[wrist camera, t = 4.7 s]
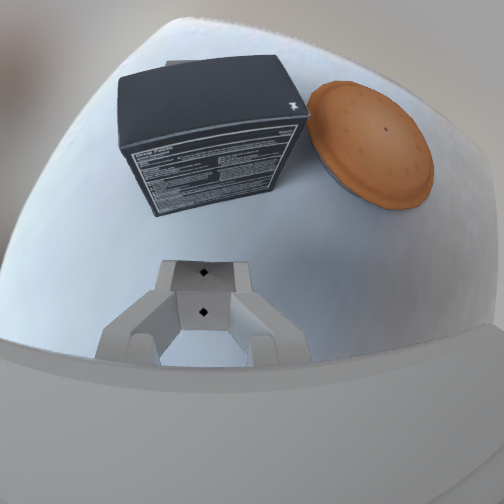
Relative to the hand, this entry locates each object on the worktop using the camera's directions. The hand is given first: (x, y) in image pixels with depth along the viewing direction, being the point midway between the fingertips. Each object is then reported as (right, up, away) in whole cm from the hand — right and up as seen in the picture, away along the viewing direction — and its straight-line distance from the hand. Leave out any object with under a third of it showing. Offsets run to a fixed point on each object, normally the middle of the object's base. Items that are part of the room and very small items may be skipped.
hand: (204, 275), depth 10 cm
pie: (+14, +11, +17) cm, 24 cm away
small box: (-2, +8, +13) cm, 16 cm away
